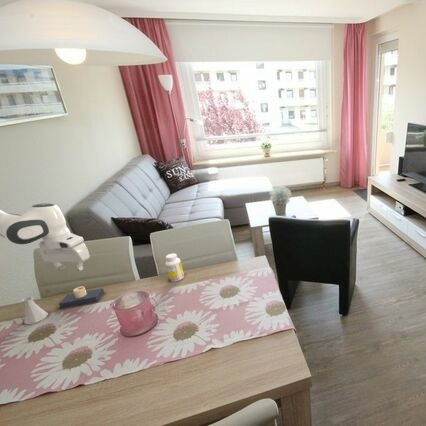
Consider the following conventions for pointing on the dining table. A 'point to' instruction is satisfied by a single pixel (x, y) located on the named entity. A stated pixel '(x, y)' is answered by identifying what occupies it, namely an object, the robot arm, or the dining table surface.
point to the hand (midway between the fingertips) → (71, 269)
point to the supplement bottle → (174, 267)
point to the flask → (32, 311)
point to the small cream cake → (79, 292)
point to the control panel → (82, 298)
